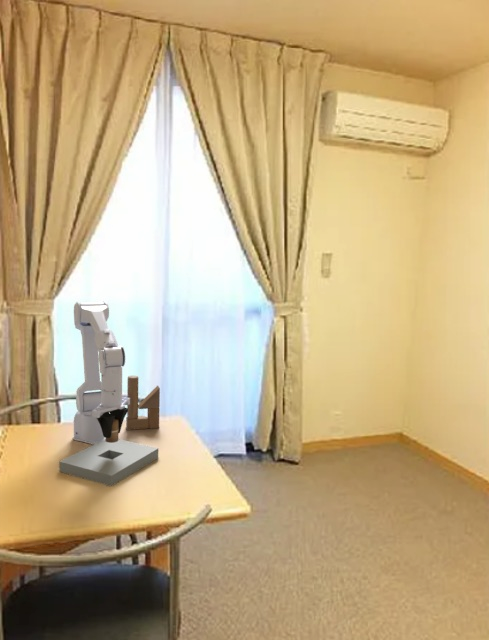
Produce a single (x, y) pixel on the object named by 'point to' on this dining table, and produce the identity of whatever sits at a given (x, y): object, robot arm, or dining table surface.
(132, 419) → the wooden block
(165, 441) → the dining table surface
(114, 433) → the peg
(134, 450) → the board
